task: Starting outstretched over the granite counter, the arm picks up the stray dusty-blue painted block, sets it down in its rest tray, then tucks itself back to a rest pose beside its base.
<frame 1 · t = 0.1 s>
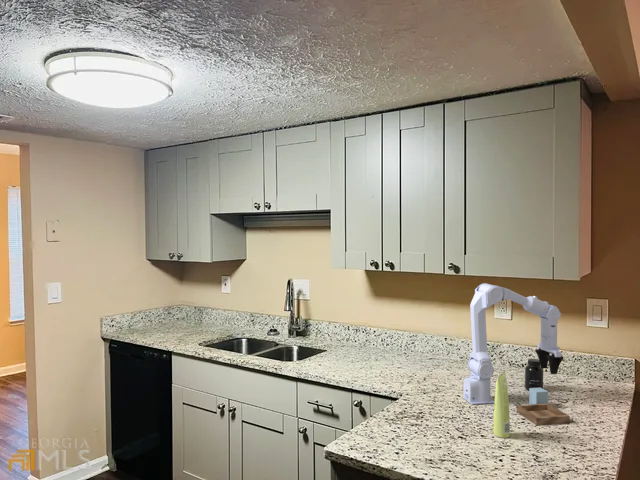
hand: (548, 371, 187), 10 cm above the worktop, fingers open, 7 cm apart
block: (538, 406, 178), on the worktop
tube: (501, 435, 153), on the worktop
supplement bottle: (534, 390, 196), on the worktop
tray: (542, 417, 167), on the worktop
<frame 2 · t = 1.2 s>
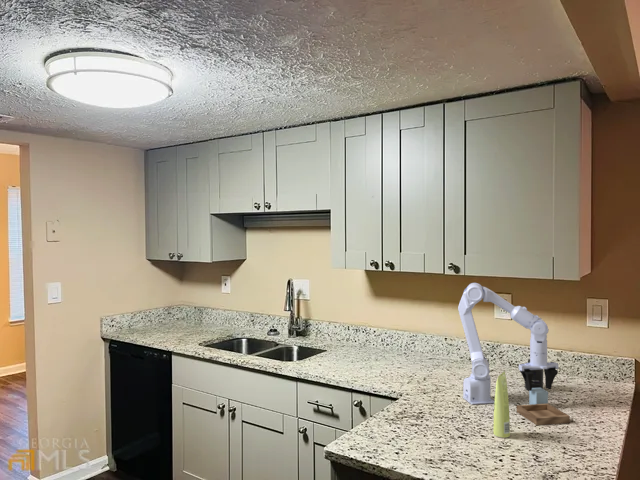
hand: (538, 389, 178), 6 cm above the worktop, fingers open, 7 cm apart
nothing on the worktop moved.
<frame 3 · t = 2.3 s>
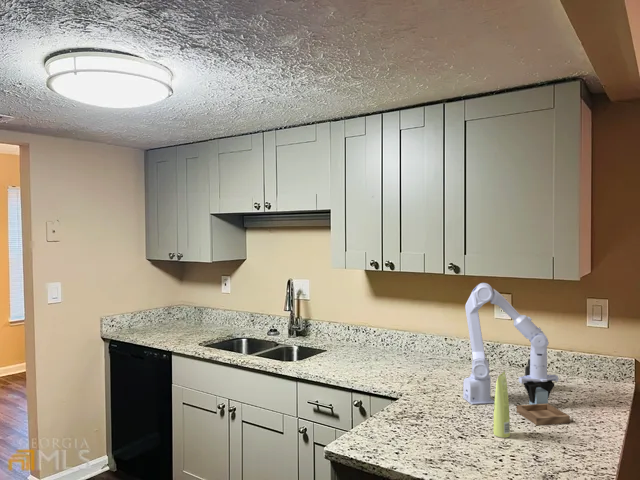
hand: (538, 401, 178), 2 cm above the worktop, fingers closed on block, 4 cm apart
block: (538, 406, 178), on the worktop, touching gripper
everything else where it was.
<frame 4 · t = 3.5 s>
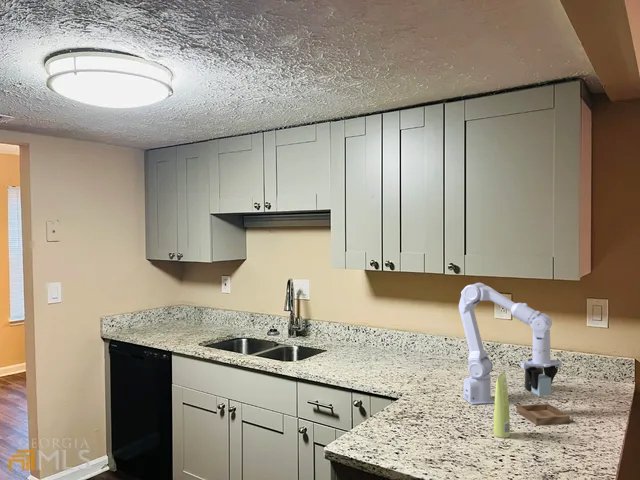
hand: (541, 387, 171), 9 cm above the worktop, fingers closed on block, 4 cm apart
block: (541, 393, 171), point 7 cm above the worktop, touching gripper
everything else where it was.
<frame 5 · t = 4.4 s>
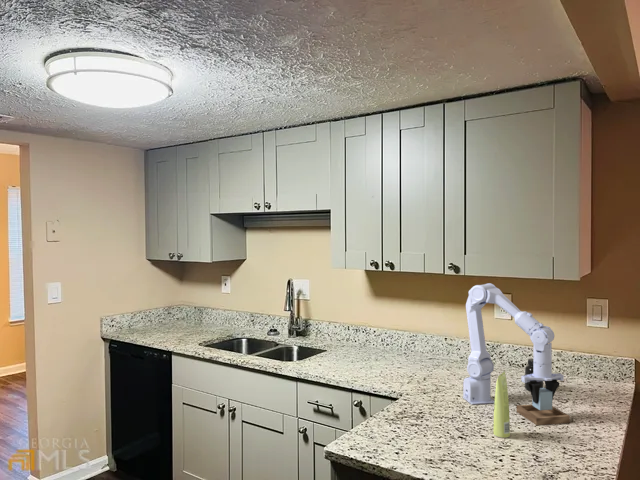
hand: (542, 402, 167), 5 cm above the worktop, fingers closed on block, 4 cm apart
block: (542, 407, 167), point 3 cm above the worktop, touching gripper
everything else where it was.
when the fingers open (4 cm above the worktop, at t = 5.2 s): block drops 1 cm, resting on tray.
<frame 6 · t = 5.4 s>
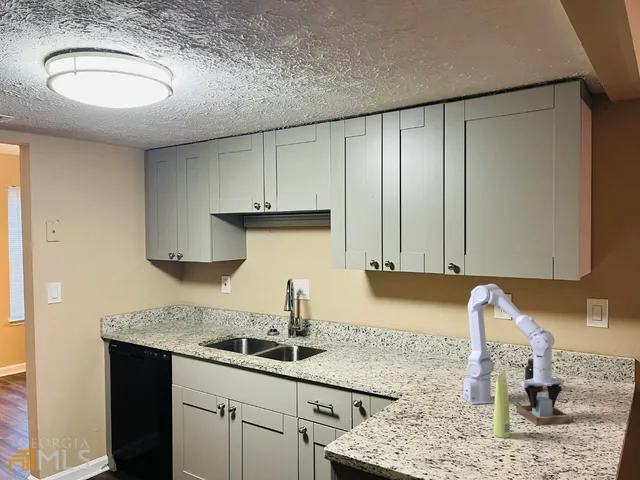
hand: (542, 406, 167), 4 cm above the worktop, fingers open, 6 cm apart
block: (542, 415, 167), resting on tray
everything else where it was.
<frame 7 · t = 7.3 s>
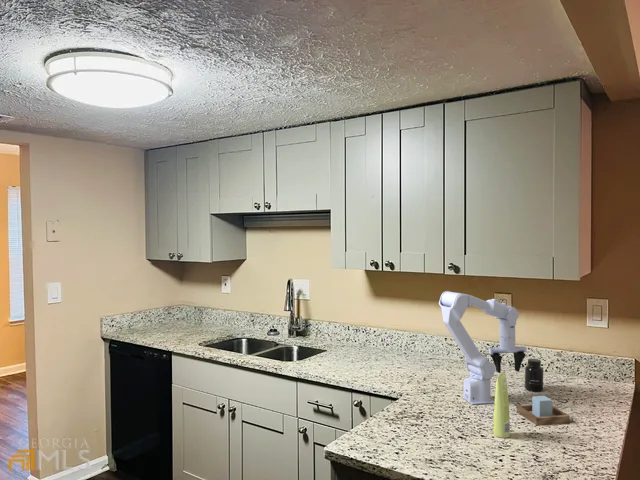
hand: (507, 371, 188), 10 cm above the worktop, fingers open, 7 cm apart
nothing on the worktop moved.
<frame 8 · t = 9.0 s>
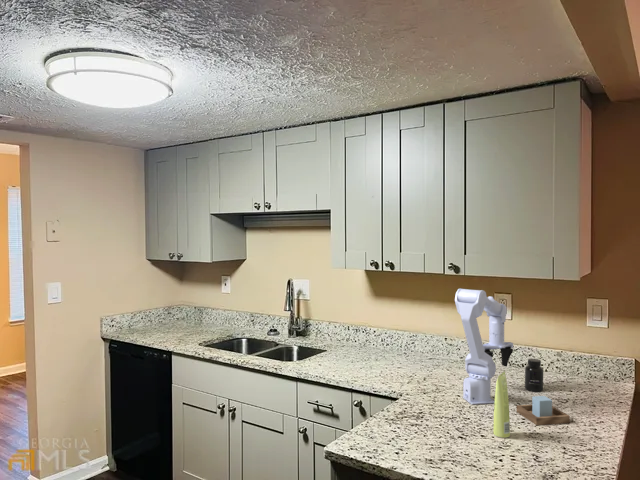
hand: (496, 366, 196), 9 cm above the worktop, fingers open, 7 cm apart
nothing on the worktop moved.
at the end: block inside the target area on the tray (0.1 cm from its centre), point 0.5 cm above the tray's base; block tilted 0°; the gripper is holding nothing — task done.
